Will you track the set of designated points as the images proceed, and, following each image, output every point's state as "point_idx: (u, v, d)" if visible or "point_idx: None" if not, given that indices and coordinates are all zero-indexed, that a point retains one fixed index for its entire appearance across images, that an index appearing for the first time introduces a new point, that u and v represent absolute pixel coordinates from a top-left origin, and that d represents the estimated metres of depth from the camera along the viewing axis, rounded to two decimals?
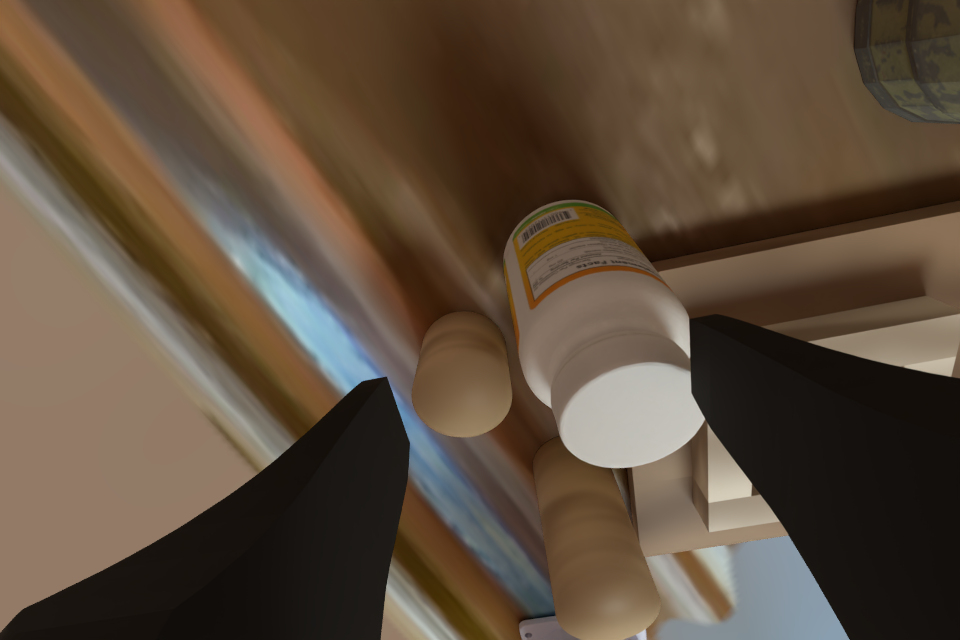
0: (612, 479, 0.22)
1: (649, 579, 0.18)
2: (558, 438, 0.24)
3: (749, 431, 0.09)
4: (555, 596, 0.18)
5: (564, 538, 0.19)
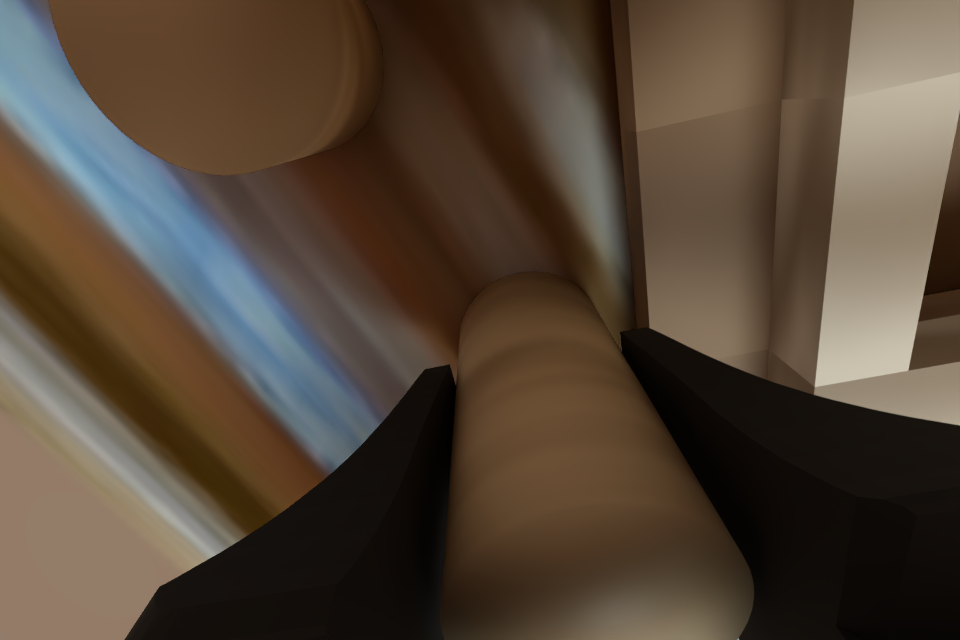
0: (610, 336, 0.10)
1: (722, 525, 0.06)
2: (505, 279, 0.12)
3: None
4: (443, 578, 0.06)
5: (483, 429, 0.07)
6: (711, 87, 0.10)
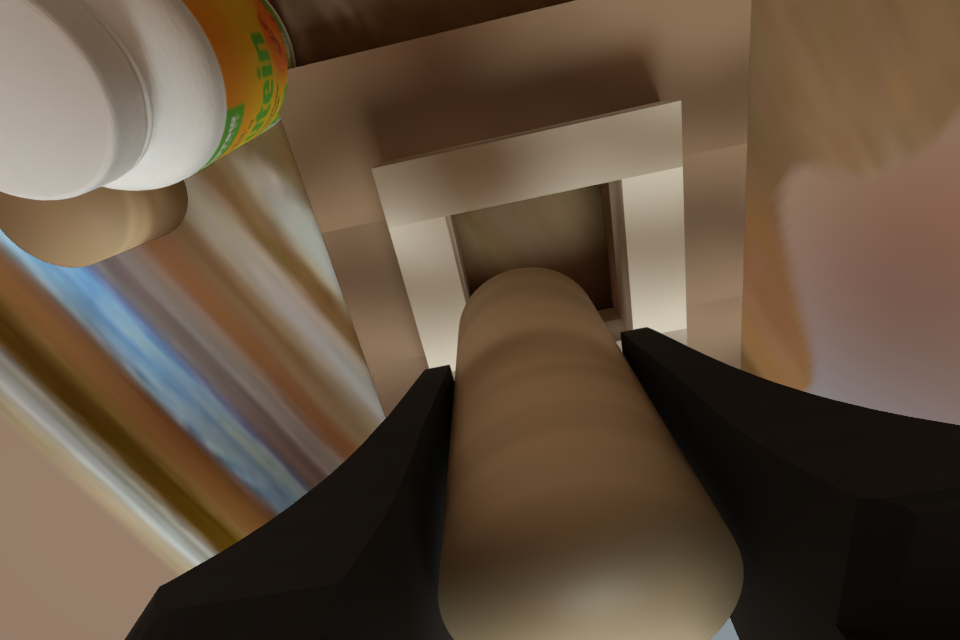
0: (607, 330, 0.11)
1: (714, 508, 0.06)
2: (505, 273, 0.13)
3: None
4: (441, 557, 0.06)
5: (483, 415, 0.07)
6: (355, 211, 0.18)
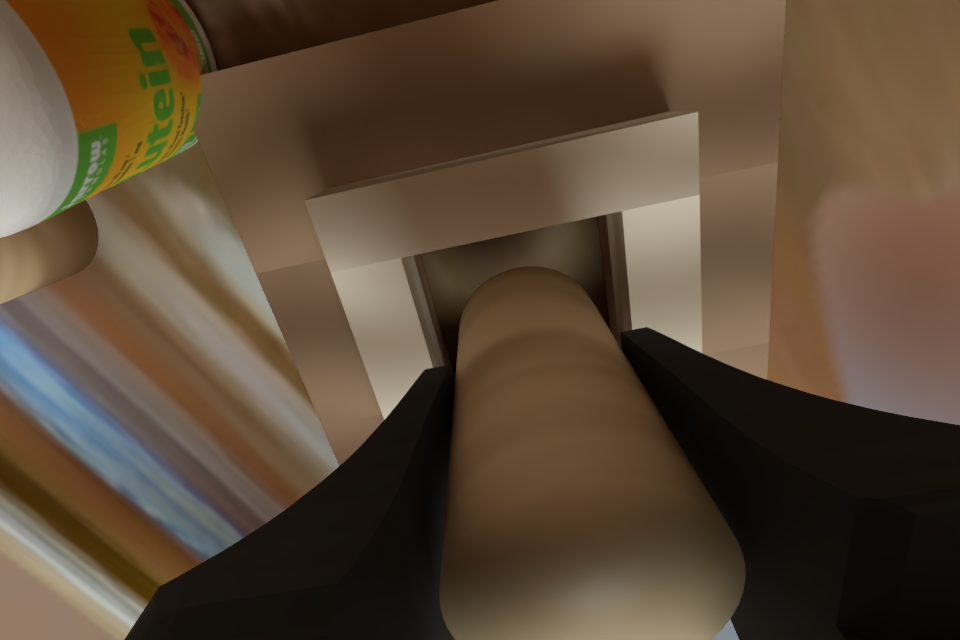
0: (608, 330, 0.11)
1: (716, 508, 0.06)
2: (506, 273, 0.13)
3: None
4: (442, 557, 0.06)
5: (484, 414, 0.07)
6: (296, 247, 0.14)
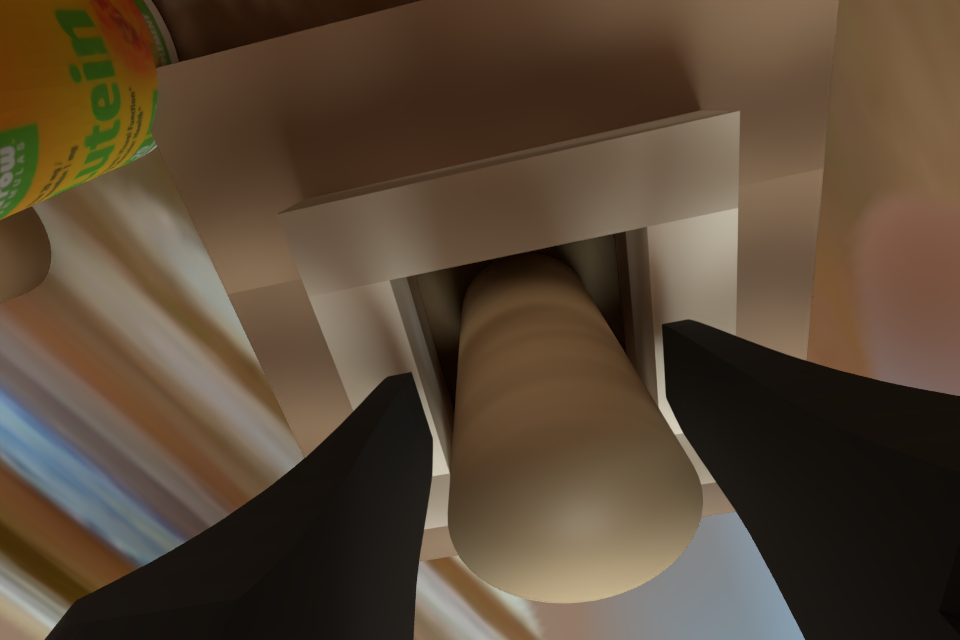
0: (596, 308, 0.12)
1: (678, 442, 0.07)
2: (504, 258, 0.14)
3: (716, 436, 0.09)
4: (450, 487, 0.08)
5: (485, 373, 0.09)
6: (272, 264, 0.13)
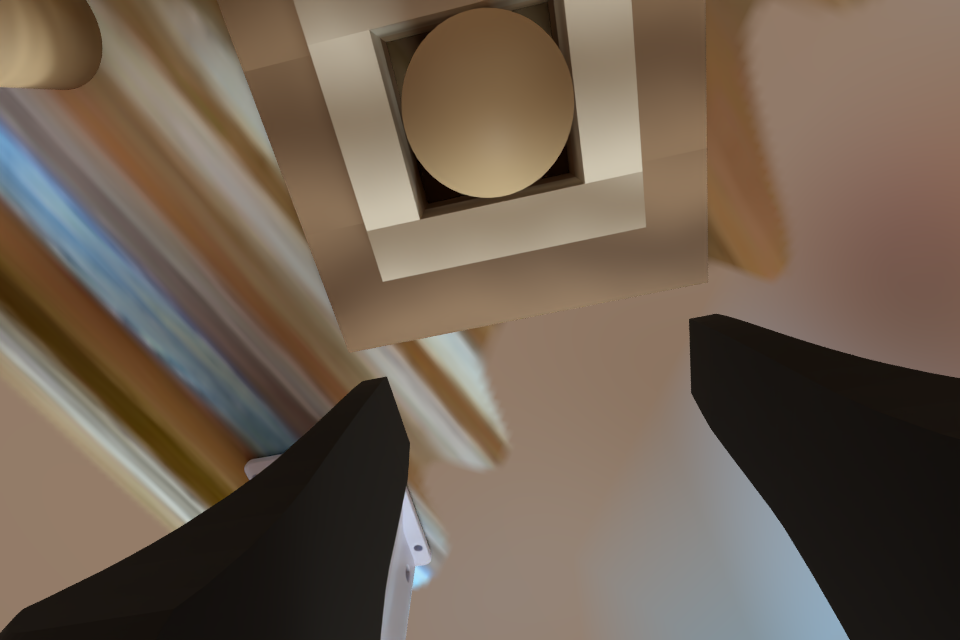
0: None
1: None
2: None
3: (749, 431, 0.09)
4: (404, 95, 0.11)
5: None
6: (279, 44, 0.16)
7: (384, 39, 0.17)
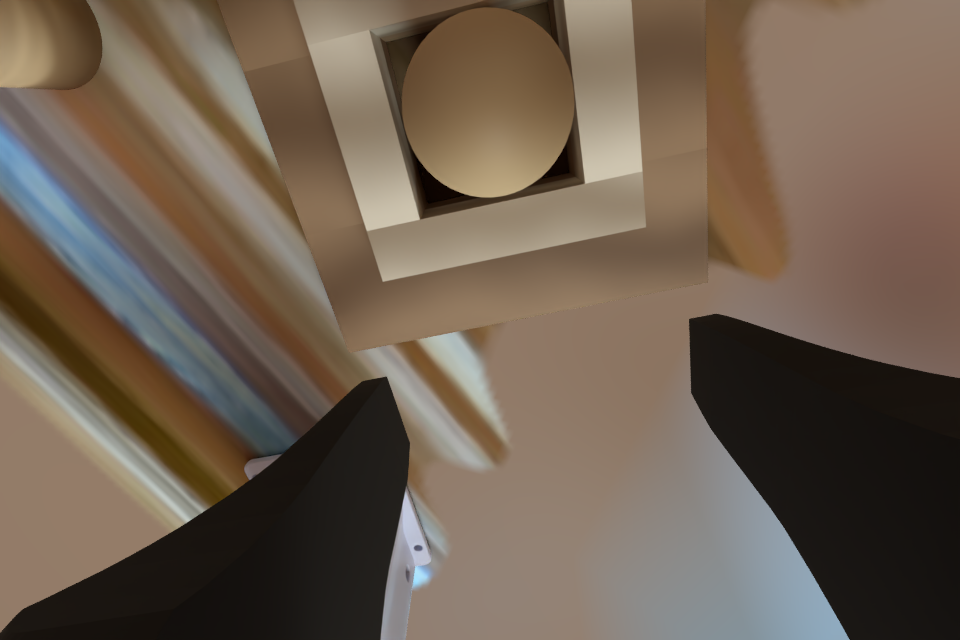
0: None
1: None
2: None
3: (749, 431, 0.09)
4: (404, 95, 0.11)
5: None
6: (279, 44, 0.16)
7: (384, 39, 0.17)
